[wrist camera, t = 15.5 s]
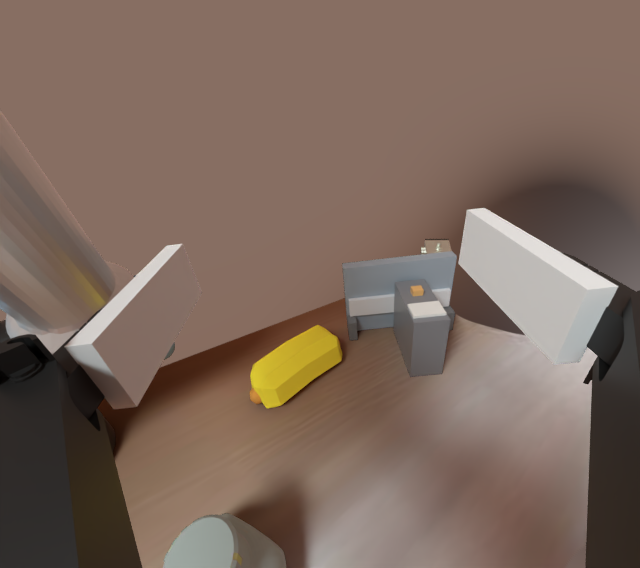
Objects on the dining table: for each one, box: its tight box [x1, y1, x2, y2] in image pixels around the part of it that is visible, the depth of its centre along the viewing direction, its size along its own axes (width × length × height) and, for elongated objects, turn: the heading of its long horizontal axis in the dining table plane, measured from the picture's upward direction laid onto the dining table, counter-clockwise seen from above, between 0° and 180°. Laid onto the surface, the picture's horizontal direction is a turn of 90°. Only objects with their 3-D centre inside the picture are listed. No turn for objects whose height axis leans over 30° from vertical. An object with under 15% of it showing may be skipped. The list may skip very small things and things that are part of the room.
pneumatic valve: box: [421, 239, 451, 255], centre depth 61 cm, size 6×12×12 cm, turn 166°
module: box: [393, 279, 451, 377], centre depth 47 cm, size 5×11×12 cm, turn 1°
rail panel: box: [342, 251, 457, 340], centre depth 52 cm, size 19×4×14 cm, turn 91°
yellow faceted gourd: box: [250, 325, 342, 408], centre depth 47 cm, size 18×7×8 cm
